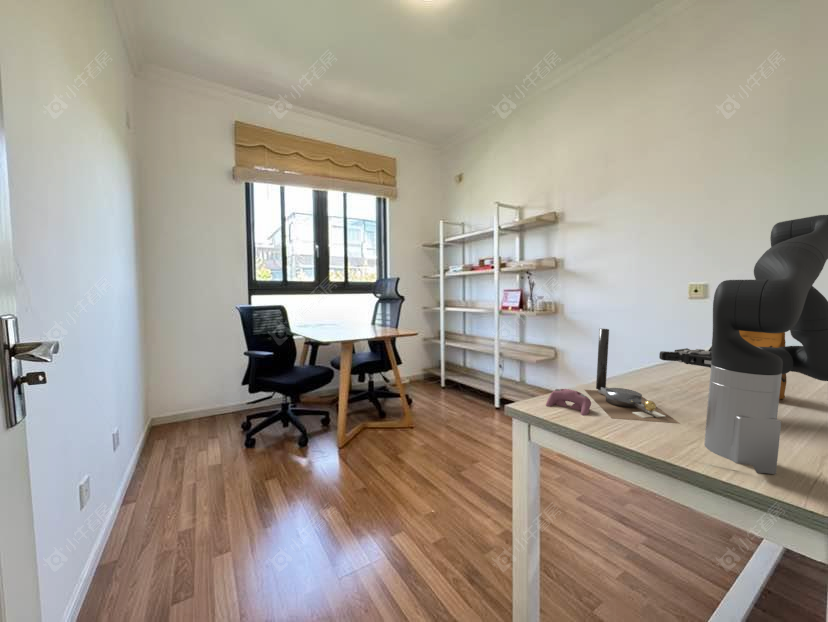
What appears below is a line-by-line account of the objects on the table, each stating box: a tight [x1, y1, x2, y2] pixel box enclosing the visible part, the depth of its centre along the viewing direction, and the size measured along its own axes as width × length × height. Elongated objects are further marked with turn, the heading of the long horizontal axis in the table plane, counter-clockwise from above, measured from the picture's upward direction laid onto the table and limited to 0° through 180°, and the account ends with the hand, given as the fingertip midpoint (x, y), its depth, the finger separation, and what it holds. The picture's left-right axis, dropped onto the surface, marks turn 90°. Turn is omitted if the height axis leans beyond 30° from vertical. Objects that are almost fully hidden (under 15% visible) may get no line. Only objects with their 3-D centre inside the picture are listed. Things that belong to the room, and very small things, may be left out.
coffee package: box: [739, 330, 787, 400], centre depth 100 cm, size 10×12×22 cm
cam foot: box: [595, 328, 657, 413], centre depth 88 cm, size 18×8×18 cm, turn 11°
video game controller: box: [545, 388, 592, 416], centre depth 85 cm, size 10×5×7 cm, turn 49°
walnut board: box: [583, 389, 681, 424], centre depth 88 cm, size 22×14×2 cm, turn 169°
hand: (660, 355), depth 93 cm, fingers closed
